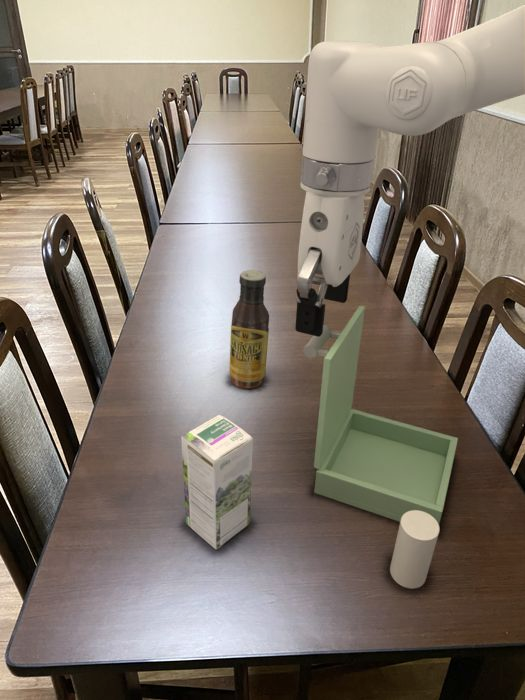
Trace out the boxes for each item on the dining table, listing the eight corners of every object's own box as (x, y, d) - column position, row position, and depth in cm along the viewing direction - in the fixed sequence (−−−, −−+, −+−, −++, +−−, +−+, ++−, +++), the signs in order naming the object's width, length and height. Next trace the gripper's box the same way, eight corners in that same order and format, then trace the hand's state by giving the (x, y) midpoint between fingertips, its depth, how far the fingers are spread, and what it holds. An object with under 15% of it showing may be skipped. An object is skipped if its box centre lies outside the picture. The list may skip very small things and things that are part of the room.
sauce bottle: (224, 387, 91) (223, 279, 81) (235, 368, 96) (234, 264, 86) (262, 393, 90) (265, 284, 79) (270, 373, 95) (274, 269, 85)
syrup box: (219, 499, 70) (217, 410, 62) (252, 525, 66) (253, 434, 59) (185, 524, 66) (178, 433, 58) (217, 553, 63) (214, 460, 55)
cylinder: (426, 563, 62) (439, 514, 58) (425, 593, 59) (439, 544, 55) (391, 554, 63) (402, 506, 59) (388, 583, 60) (399, 534, 55)
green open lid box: (452, 458, 77) (458, 437, 75) (436, 534, 66) (442, 512, 64) (346, 428, 83) (349, 407, 81) (314, 492, 71) (316, 471, 69)
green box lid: (365, 306, 72) (330, 299, 73) (330, 359, 60) (290, 349, 62) (352, 406, 80) (321, 397, 82) (319, 469, 69) (284, 458, 70)
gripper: (346, 199, 49) (329, 356, 58) (389, 162, 63) (369, 295, 72) (272, 187, 52) (266, 340, 61) (328, 155, 65) (316, 284, 74)
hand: (322, 315), depth 66 cm, fingers open, 9 cm apart
